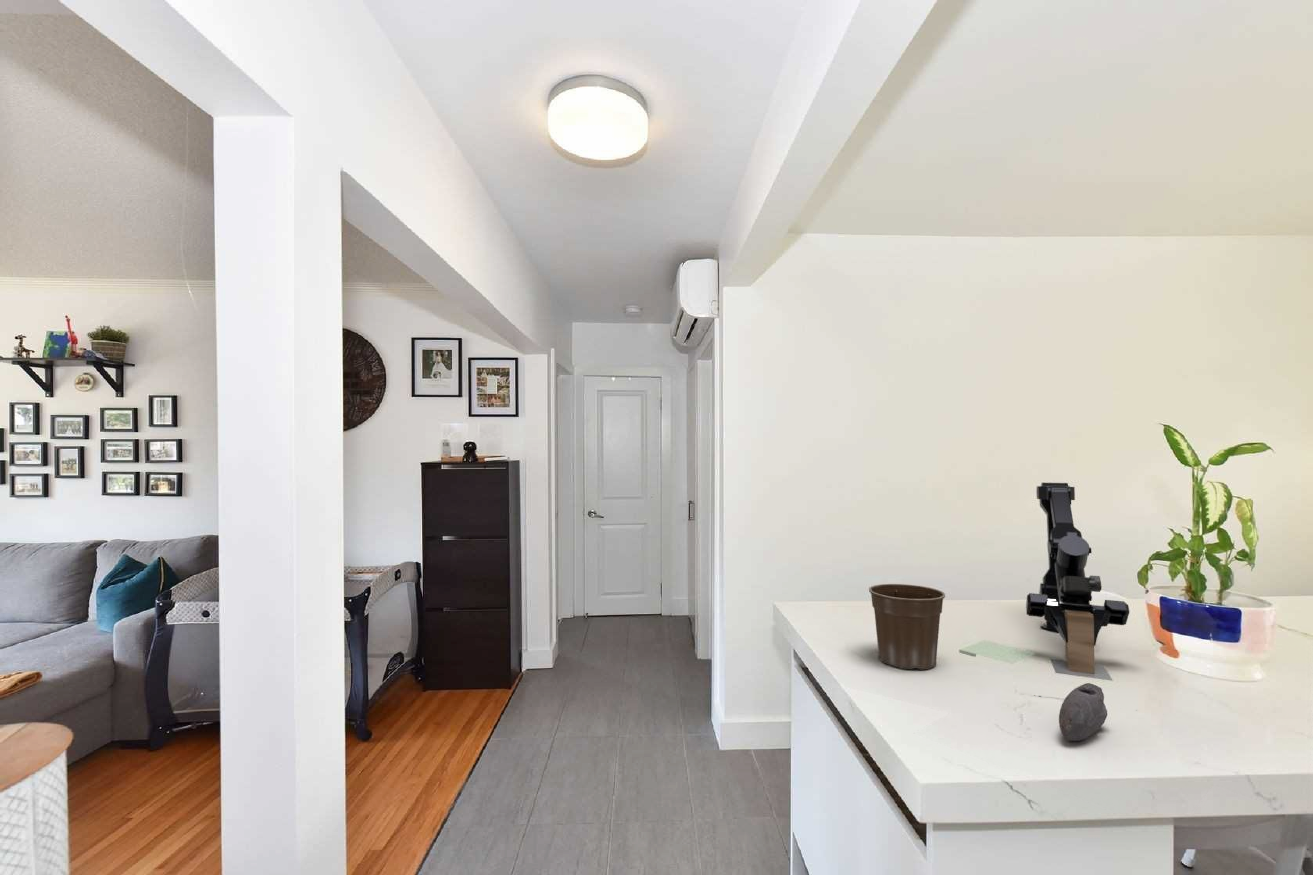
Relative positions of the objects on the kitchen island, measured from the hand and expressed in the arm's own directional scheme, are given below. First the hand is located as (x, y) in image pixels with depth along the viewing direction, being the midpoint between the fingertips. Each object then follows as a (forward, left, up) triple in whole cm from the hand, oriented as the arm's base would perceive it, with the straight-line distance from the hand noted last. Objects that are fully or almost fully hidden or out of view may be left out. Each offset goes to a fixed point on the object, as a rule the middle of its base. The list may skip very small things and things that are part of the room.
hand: (1080, 643), depth 132 cm
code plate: (-1, -1, -7) cm, 7 cm away
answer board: (+2, -17, -7) cm, 18 cm away
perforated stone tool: (+31, +12, -7) cm, 34 cm away
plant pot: (+24, -26, -7) cm, 36 cm away
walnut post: (-1, -1, -6) cm, 6 cm away
